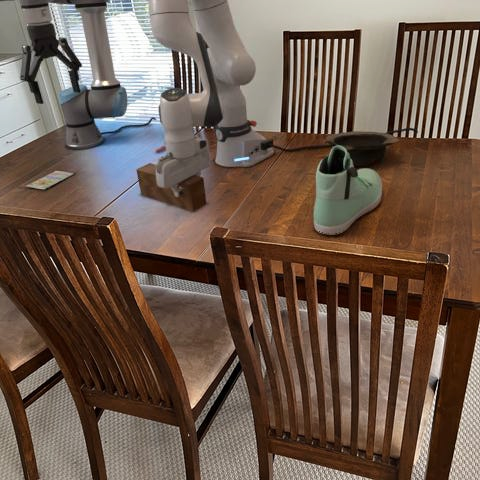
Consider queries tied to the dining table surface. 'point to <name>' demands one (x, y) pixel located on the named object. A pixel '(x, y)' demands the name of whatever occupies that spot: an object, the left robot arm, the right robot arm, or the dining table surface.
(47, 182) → the baking ingredient package
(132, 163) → the dining table surface
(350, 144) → the dark brown hat
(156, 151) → the candy cane
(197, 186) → the bar
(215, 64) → the right robot arm
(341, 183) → the sneaker
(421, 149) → the dining table surface
